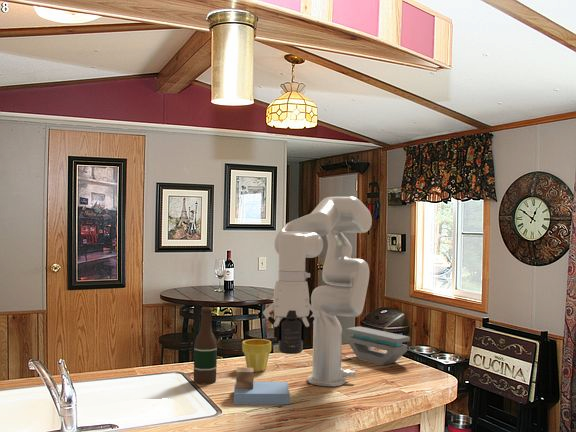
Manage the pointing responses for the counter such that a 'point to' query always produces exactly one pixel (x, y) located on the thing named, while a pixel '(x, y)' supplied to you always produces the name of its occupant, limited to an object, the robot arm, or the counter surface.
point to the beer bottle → (205, 351)
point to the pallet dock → (263, 393)
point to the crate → (244, 378)
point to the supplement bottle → (291, 334)
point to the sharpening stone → (376, 345)
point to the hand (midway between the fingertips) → (290, 339)
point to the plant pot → (256, 353)
